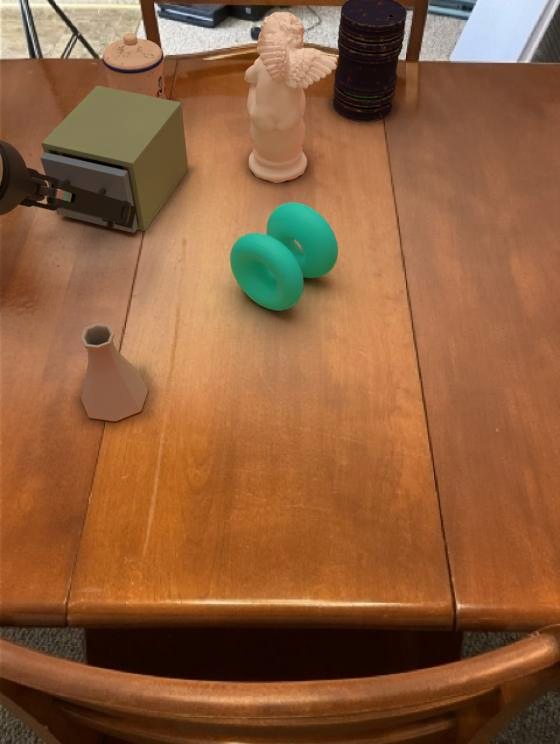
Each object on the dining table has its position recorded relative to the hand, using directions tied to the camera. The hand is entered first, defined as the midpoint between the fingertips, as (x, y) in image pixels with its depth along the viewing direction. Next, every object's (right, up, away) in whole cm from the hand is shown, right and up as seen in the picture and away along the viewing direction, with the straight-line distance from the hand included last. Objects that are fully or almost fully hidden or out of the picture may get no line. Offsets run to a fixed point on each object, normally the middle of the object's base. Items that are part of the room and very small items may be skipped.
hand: (82, 205), depth 86 cm
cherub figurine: (+26, +8, +14) cm, 31 cm away
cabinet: (+3, +5, +10) cm, 12 cm away
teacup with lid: (+2, +22, +24) cm, 33 cm away
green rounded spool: (+25, -10, -1) cm, 27 cm away
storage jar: (+38, +22, +25) cm, 51 cm away
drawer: (+2, +2, +7) cm, 8 cm away
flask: (+7, -24, -12) cm, 27 cm away
